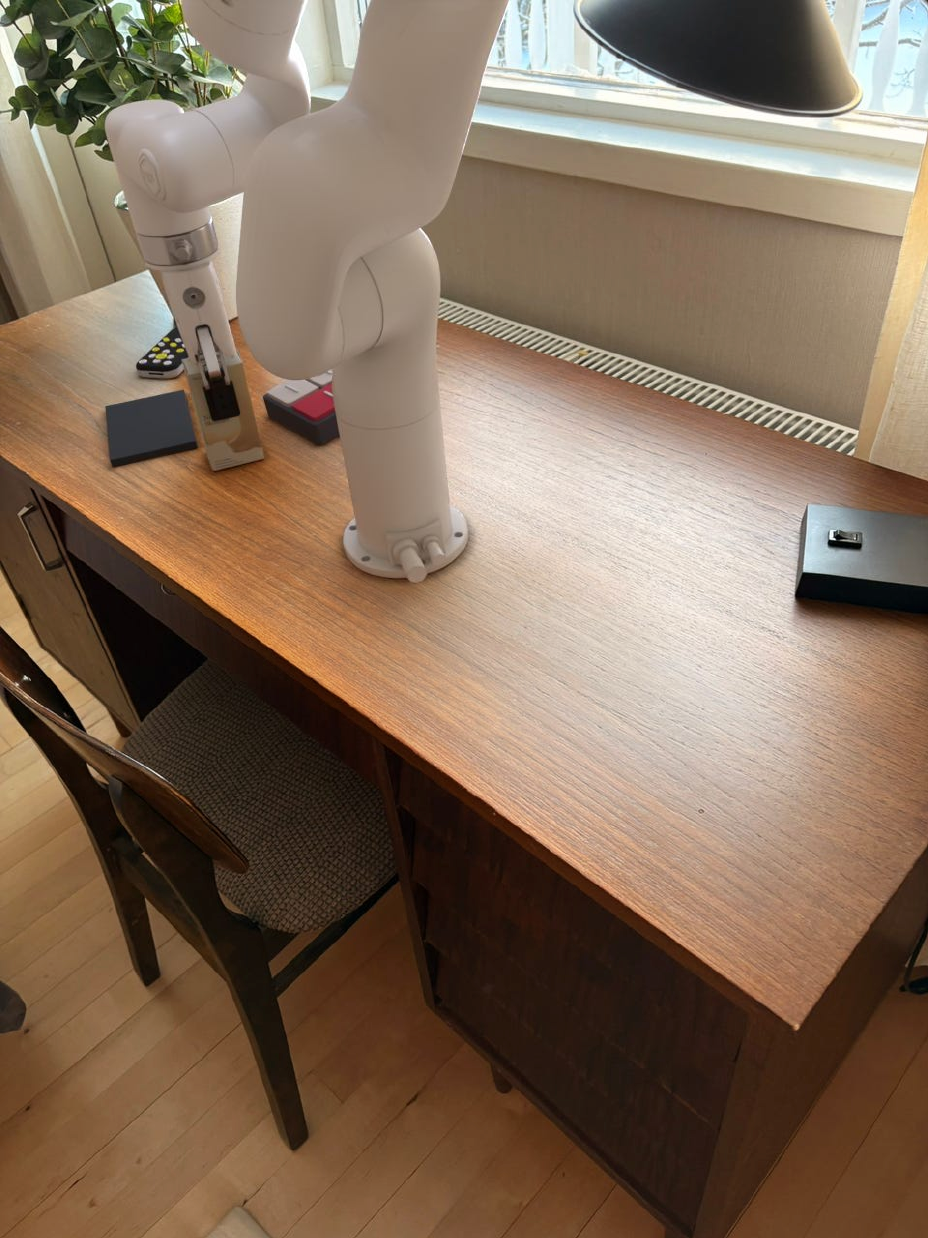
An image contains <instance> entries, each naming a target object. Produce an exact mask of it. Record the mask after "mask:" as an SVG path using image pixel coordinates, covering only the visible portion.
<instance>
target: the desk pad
mask: <svg viewBox="0 0 928 1238" xmlns="http://www.w3.org/2000/svg"><path fill="white" fill-rule="evenodd" d="M104 407H105V419H106V429H107V441H108V452H109V462H110V464H111V466H112V467H113V468H115V467H119V466H123V465H127V464H133V463H138V462H141V461H147V460H150V459H154V458H159V457H163V456H168V455H172V454H177V453H180V452H185V451H189V450H190V451H191V450H194V449H198V448H199V446H198V443H197V438H196V433H195V429H194V425H193V421H192V417H191V412H190V407H189V403H188V399H187V395H186V392H185V389H179V390H174V391H170V392H165V393H161V394H156V395H151V396H147V397H141V398H137V399H133V400H128V401H123V402H119V403H114V404H109V405H105V406H104Z"/></svg>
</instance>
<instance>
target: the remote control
mask: <svg viewBox="0 0 928 1238" xmlns="http://www.w3.org/2000/svg"><path fill="white" fill-rule="evenodd" d="M186 358H189V356H188V353H187V351H186V348H185V346H184V343H183V340H182V338H181V335H180V333H179V330H178V327H177V326H176V327H174V328H172V329H171V330H170V331H169V332H168V333H167V334H166V335H165V336H163V337H162V338H161V339H160V340H159V341H158V342H157V343H156V344H154V346H153V347H152V348H151V349H150V350H149V351H148V352H146V353H145V354H144V355H143V356H142V357H141V358H140V359H139V360H137V362H136V364H135V368H136V371H137V374H138V376H140V377H142V378H149V379H150V378H151V379H167V380H169V379H174V378H176V377H178V376H179V375H180V374H181V373H183V371H184V367H183V364H182V359H186Z"/></svg>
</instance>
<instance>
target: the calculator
mask: <svg viewBox="0 0 928 1238" xmlns="http://www.w3.org/2000/svg"><path fill="white" fill-rule="evenodd" d="M332 371H333V369H331V370H329V371H327V372H325V373H322V374H320V375H318V376H316V377H313V378H309V379H305V380H287V379H286V380H285V381H283V382H281V383H279V384H278V385H275V386H274V387H272V388H270V389H268V390H267V391H266V393H264V394H263V396H262V400H263V404H264V407H265V412H266V414H267V417H268V419H271V420H273V421H275V422H276V423H278V424H279V425H281V426H283V427H285V428H286V429H288V430H290V431H292V432H294V433H296V434H298V435H299V436H301V437H303V438H305V439H307V441H310V442H312V443H313V444H315V445H317V446H324V445H325V444H327V443H329V442H330V441H332V440H334V439H336V438H337V437H340V434H339V429H338V423H337V418H336V412H335V406H334V401H333V393H332Z"/></svg>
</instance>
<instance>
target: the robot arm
mask: <svg viewBox="0 0 928 1238" xmlns="http://www.w3.org/2000/svg"><path fill="white" fill-rule="evenodd" d="M510 1H511V0H369V3H368V5H367V8H366V11H365V15H364V17H363V20H362V24H361V28H360V33H359V39H358V46H357V53H356V58H355V63H354V67H353V72H352V76H351V79H350V82H349V85H348V88H347V90H346V92H345V93H344V95H342V97H340V98H339V99H338V100H337V101H335V103H333V104H331V105H330V106H328V107H326V108H323V109H319V110H317V111H313V112H311V107H312V106H311V104H312V103H311V101H312V99H311V88H310V80H309V76H308V70H307V66H306V62H305V60H304V57H303V54H302V52H301V50H300V48H299V45H298V44H297V42H296V41H295V39H296V35H297V33H298V30H299V27H300V24H301V21H302V18H303V14H304V11H305V8H306V6H307V3H308V0H181V1H180V2H181V10H182V15H183V19H184V22H185V24H186V26H187V29H188V30H189V32H190V33H191V35H192V37H193V38H194V39H195V41H196V42H197V43H198V44H199V45H200V46H201V47H202V48H203V49H204V50H205V51H206V52H207V53H209V54H210V55H211V56H212V57H214V58H215V59H216V60H218V61H219V62H221V63H223V64H225V65H226V66H228V67H231V68H232V69H235V70H238V71H241V72H243V73H246V76H245V79H244V83H243V85H242V87H241V89H240V91H239V93H238V94H237V95H236V96H232V97H229V98H224V99H222V100H218V101H215V102H212V103H208V104H205V105H202V106H199V107H196V108H193V109H188V110H187V111H184V110H183V108H182V107H181V106H180V105H179V104H177V103H176V102H174V101H171V100H167V99H145V100H138V101H133V102H128V103H125V104H122V105H120V106H117V107H115V108H113V109H112V110H110V111H109V112H108V114H107V115H106V117H105V121H104V130H105V135H106V139H107V143H108V146H109V149H110V152H111V156H112V159H113V163H114V166H115V169H116V172H117V176H118V180H119V182H120V186H121V189H122V193H123V196H124V200H125V202H126V206H127V209H128V213H129V216H130V219H131V223H132V226H133V229H134V231H135V236H136V239H137V243H138V246H139V249H140V252H141V256H142V259H143V262H144V265H145V267H146V268H148V269H150V270H152V271H157V272H159V273H160V277H161V281H162V284H163V286H164V290H165V294H166V297H167V300H168V304H169V306H170V309H171V313H172V316H173V318H174V322H175V324H176V327H178V330H179V333H180V335H181V338H182V340H183V343H184V346H185V348H186V351H187V353H188V356H189V358H190V360H191V363H193V364H195V365H197V363H198V365H199V368H200V372H201V375H202V379H203V383H204V387H202V388H203V391H204V395H205V398H206V402H207V405H208V409H209V412H210V416H211V419H212V420H213V421H219V420H223V419H228V418H232V417H237V416H239V415H240V409H239V405H238V402H237V398H236V394H235V390H234V386H233V382H232V381H230V379H229V376H228V372H227V368H226V364H225V361H224V360H225V359H224V356H223V354H224V355H225V357H230V356H231V357H232V358H234V357H235V356H236V353H237V352H236V349H237V348H236V345H235V341H234V338H233V337H234V336H233V333H232V330H231V329H232V328H231V326H230V322H229V317H228V314H227V310H226V306H225V302H224V297H223V294H222V290H221V287H220V283H219V279H218V276H217V272H216V269H215V266H214V262H213V261H214V260H215V259H216V258H218V256H219V255H220V253H221V249H220V246H219V241H218V237H217V233H216V228H215V225H214V221H213V217H212V213H211V209H210V206H213V205H215V204H219V203H221V202H223V201H225V200H228V199H230V198H232V197H235V196H238V195H241V194H243V195H242V207H241V208H242V209H241V220H240V229H239V244H238V255H237V258H238V259H237V266H236V267H237V268H236V279H235V304H236V305H235V306H236V315H237V319H238V326H239V328H240V332H241V334H242V337H243V340H244V342H245V344H246V347H247V349H248V350H249V352H250V354H251V355H252V357H253V358H254V360H255V361H256V362H257V363H258V364H259V365H260V366H261V367H262V368H263V369H264V370H266V371H267V372H269V373H270V374H272V375H274V376H275V377H278V378H280V379H283V380H286V381H287V380H305V379H309V378H313V377H316V376H318V375H320V374H322V373H325V372H327V371H329V370H331V369H333V371H332V393H333V401H334V406H335V412H336V418H337V423H338V429H339V434H340V435H339V439H340V445H341V450H342V455H343V461H344V462H343V463H344V465H345V466H344V467H345V473H346V478H347V484H348V488H349V489H348V490H349V493H350V494H349V495H350V501H351V506H352V512H353V515H354V516H353V518H352V519H351V520H350V521H349V522H348V523H347V525H346V526H345V528H344V532H343V536H342V544H343V548H344V553H345V556H346V557H347V559H348V560H349V562H350V563H352V565H354V567H356V568H357V569H359V570H360V571H362V572H364V573H367V574H370V575H373V576H377V577H380V578H381V577H382V578H387V579H388V578H390V579H407V580H408V581H409V582H410V583H414V584H417V583H421V582H422V581H424V580H425V579H426V578H427V575H428V574H430V573H435V572H436V571H438V570H441V569H442V568H444V567H446V566H447V565H450V563H452V562H453V561H454V560H456V559H457V558H458V557H459V556H460V555H461V554H462V552H463V551H464V550H465V548H466V545H467V544H468V539H469V529H468V522H467V520H466V518H465V516H464V515H463V514H462V512H461V511H460V510H459V509H458V508H457V507H455V506H454V505H452V504H451V503H450V502H451V501H450V493H449V491H450V490H449V482H448V481H449V480H448V471H447V461H446V450H445V439H444V431H443V421H442V419H443V418H442V410H441V401H440V400H441V399H440V398H441V397H440V385H439V376H438V363H437V361H438V359H437V336H438V335H437V333H438V321H439V314H440V313H439V312H440V303H441V271H440V265H439V260H438V257H437V254H436V250H435V248H434V246H433V244H432V242H431V240H430V239H429V237H428V235H427V234H426V233H425V232H424V230H423V229H422V228H424V227H425V226H427V225H428V224H430V223H432V222H433V220H435V219H436V218H437V217H438V216H439V215H440V214H441V213H442V212H443V210H444V208H445V206H446V205H447V203H448V200H449V198H450V195H451V193H452V191H453V190H452V189H453V187H454V184H455V180H456V177H457V173H458V171H459V170H458V169H459V167H460V163H461V160H462V156H463V153H464V149H465V146H466V143H467V139H468V137H469V132H470V129H471V126H472V122H473V118H474V115H475V111H476V108H477V105H478V103H479V102H478V101H479V98H480V94H481V91H482V86H483V82H484V78H485V75H486V71H487V67H488V64H489V61H490V58H491V53H492V51H493V48H494V46H495V42H496V40H497V38H498V35H499V32H500V29H501V27H502V23H503V20H504V18H505V15H506V12H507V10H508V7H509V4H510ZM215 352H219V355H216V354H215ZM200 355H204V358H202V359H200ZM218 363H220V365H221V368H219V365H218ZM204 366H207V369H208V371H206V372H205V368H204ZM208 381H209V382H208Z"/></svg>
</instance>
